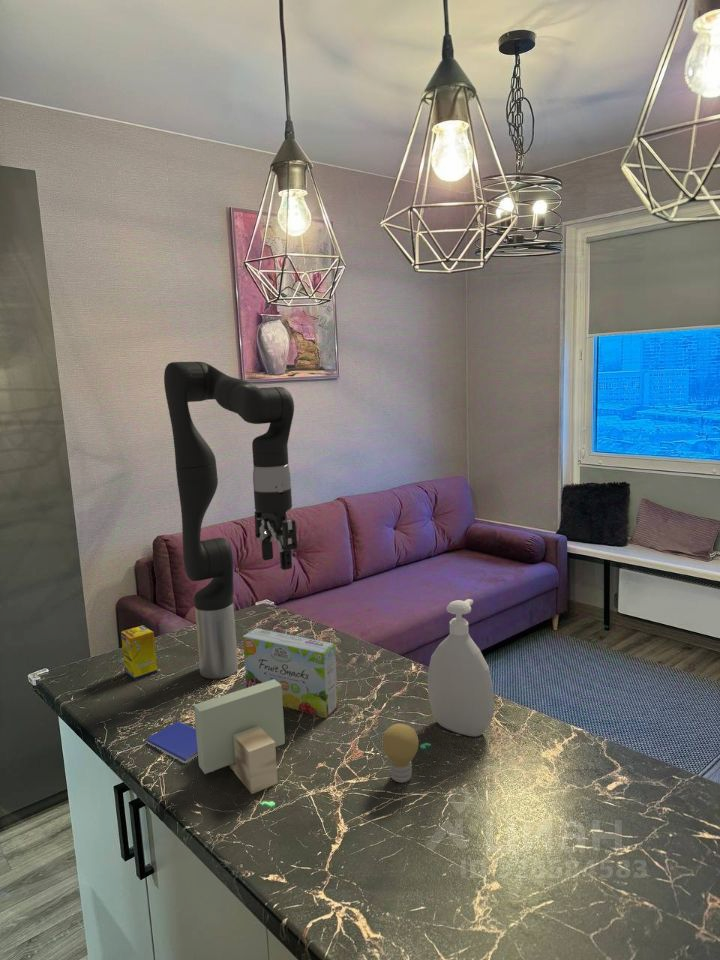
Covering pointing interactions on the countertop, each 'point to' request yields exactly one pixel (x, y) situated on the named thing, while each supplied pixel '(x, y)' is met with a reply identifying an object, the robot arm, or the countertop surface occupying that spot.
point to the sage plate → (237, 722)
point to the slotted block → (255, 759)
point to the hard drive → (176, 742)
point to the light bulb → (400, 750)
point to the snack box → (293, 669)
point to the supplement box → (139, 652)
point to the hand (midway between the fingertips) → (276, 564)
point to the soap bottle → (460, 679)
